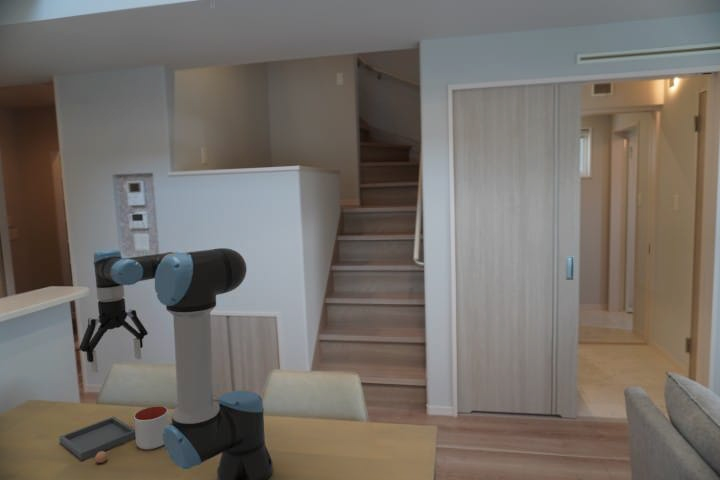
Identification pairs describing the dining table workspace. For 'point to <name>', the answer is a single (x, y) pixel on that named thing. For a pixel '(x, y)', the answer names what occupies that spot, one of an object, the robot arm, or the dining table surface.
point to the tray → (97, 438)
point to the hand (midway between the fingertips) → (117, 364)
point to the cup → (150, 426)
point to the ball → (101, 457)
